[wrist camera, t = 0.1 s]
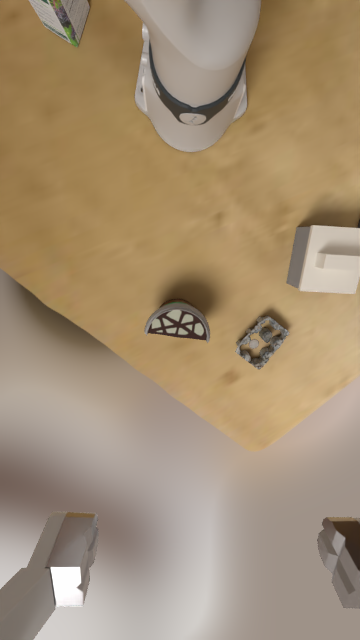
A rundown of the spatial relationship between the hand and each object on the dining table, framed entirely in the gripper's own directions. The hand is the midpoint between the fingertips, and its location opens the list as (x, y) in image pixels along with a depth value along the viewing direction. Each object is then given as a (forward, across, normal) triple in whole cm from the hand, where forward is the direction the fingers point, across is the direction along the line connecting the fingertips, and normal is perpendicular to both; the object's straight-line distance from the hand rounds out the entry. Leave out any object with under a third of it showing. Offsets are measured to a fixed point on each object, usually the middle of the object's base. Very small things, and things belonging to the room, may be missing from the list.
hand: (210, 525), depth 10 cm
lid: (+42, -27, -7) cm, 50 cm away
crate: (+48, -27, -7) cm, 55 cm away
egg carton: (+48, -18, +11) cm, 53 cm away
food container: (+48, 0, +5) cm, 48 cm away
